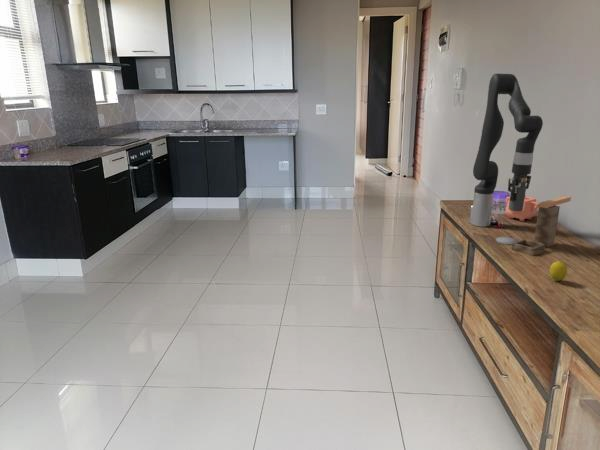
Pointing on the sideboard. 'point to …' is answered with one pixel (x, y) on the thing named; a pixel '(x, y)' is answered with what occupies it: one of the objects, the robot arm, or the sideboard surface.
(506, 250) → the sideboard surface
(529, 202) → the teapot
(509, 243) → the mat
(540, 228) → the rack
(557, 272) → the lemon
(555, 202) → the bar
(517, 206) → the bottle
